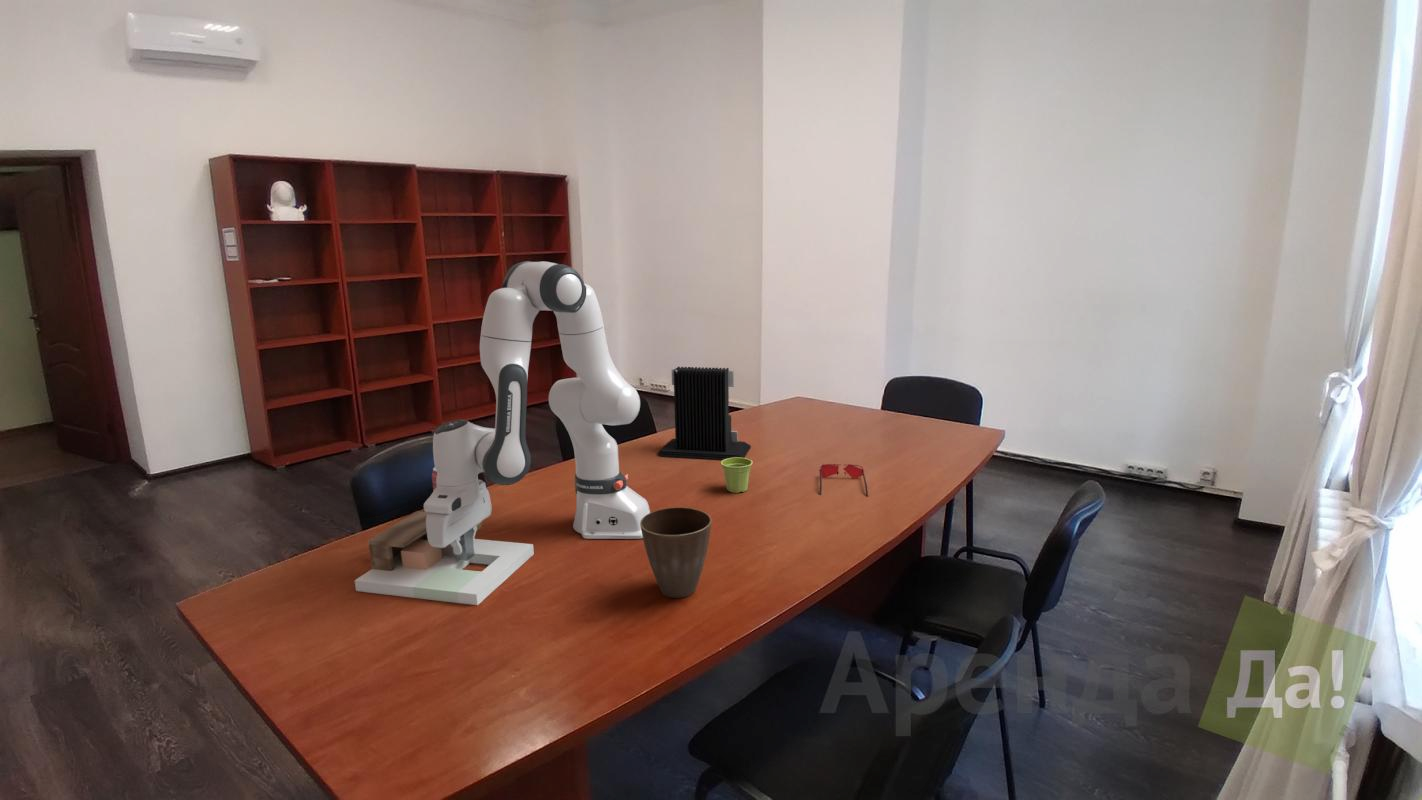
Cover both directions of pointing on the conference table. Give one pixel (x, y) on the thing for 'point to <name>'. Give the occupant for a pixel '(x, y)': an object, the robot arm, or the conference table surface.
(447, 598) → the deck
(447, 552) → the grey l-shaped bracket
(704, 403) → the black finned heatsink
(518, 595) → the conference table surface
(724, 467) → the plant pot
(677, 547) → the plant pot
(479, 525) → the brass bar
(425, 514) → the stand
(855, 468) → the glasses
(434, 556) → the terracotta block
